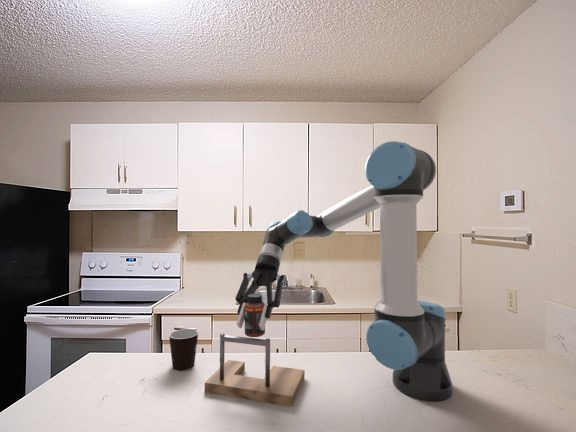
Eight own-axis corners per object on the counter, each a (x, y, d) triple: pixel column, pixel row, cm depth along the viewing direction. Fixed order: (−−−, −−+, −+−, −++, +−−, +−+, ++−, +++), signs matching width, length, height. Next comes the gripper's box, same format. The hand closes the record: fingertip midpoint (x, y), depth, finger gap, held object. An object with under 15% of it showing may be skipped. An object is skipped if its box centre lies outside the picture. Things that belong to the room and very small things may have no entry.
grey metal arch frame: (270, 384, 81) (270, 338, 81) (268, 387, 80) (269, 340, 80) (220, 377, 85) (221, 333, 85) (218, 379, 84) (219, 334, 84)
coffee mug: (189, 374, 92) (189, 340, 92) (162, 371, 93) (163, 337, 94) (207, 357, 103) (207, 326, 103) (183, 354, 105) (183, 324, 105)
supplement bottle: (268, 332, 92) (269, 294, 92) (258, 339, 86) (259, 298, 86) (251, 329, 94) (251, 291, 94) (240, 336, 89) (240, 296, 89)
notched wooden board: (304, 378, 89) (304, 369, 89) (292, 406, 76) (292, 396, 76) (228, 367, 96) (228, 359, 96) (204, 392, 82) (204, 382, 82)
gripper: (298, 269, 103) (285, 336, 87) (245, 266, 107) (223, 329, 91) (295, 254, 98) (279, 323, 82) (239, 252, 102) (214, 317, 86)
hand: (250, 326), depth 87 cm, fingers closed on supplement bottle, 6 cm apart
